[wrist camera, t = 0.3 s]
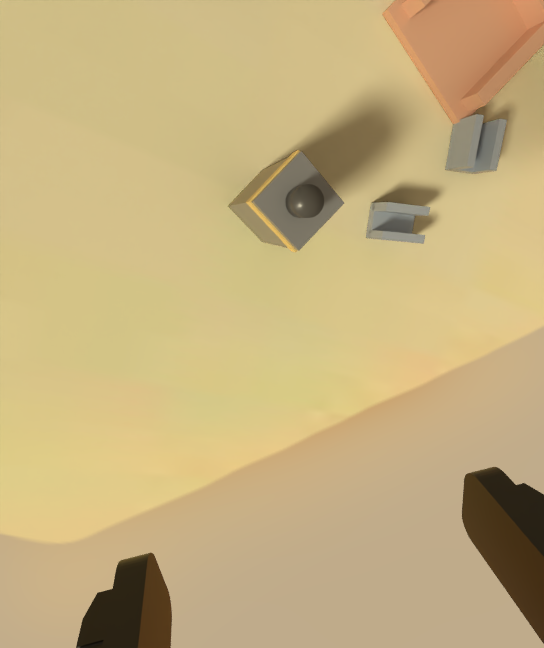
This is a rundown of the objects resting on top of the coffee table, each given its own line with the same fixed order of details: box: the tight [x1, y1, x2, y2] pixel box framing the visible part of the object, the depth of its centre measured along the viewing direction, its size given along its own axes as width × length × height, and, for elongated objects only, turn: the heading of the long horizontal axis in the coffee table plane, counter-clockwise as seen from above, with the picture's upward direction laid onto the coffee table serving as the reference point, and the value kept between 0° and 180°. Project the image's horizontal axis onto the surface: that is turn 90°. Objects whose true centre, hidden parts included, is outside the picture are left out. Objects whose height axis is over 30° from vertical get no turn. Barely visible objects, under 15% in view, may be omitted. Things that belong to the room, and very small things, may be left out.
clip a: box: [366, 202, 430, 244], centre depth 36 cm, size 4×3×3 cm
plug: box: [228, 150, 344, 252], centre depth 28 cm, size 4×4×12 cm
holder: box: [383, 0, 544, 124], centre depth 33 cm, size 11×11×3 cm
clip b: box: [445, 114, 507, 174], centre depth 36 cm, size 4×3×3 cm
